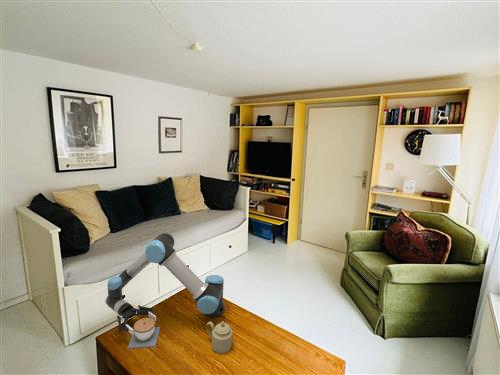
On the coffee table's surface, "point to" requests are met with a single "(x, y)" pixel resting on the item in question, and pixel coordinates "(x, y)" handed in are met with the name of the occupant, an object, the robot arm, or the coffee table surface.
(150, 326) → the lidded jar
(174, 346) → the coffee table surface
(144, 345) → the slate mat
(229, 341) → the beige teapot
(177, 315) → the coffee table surface
